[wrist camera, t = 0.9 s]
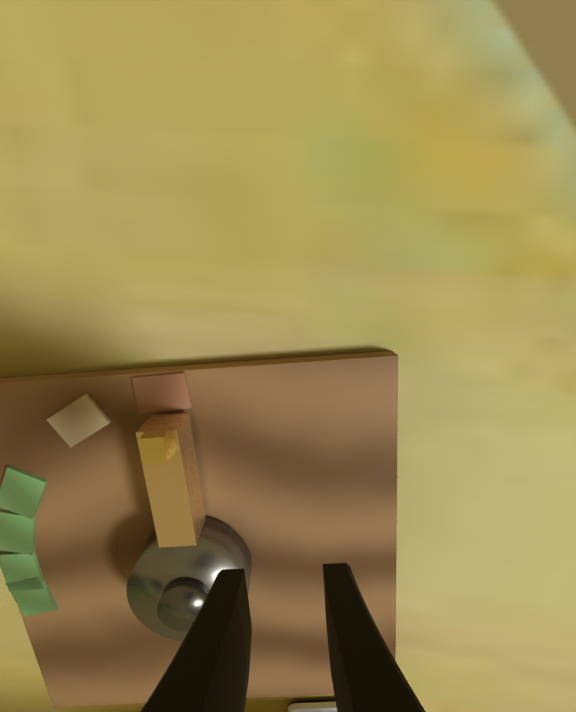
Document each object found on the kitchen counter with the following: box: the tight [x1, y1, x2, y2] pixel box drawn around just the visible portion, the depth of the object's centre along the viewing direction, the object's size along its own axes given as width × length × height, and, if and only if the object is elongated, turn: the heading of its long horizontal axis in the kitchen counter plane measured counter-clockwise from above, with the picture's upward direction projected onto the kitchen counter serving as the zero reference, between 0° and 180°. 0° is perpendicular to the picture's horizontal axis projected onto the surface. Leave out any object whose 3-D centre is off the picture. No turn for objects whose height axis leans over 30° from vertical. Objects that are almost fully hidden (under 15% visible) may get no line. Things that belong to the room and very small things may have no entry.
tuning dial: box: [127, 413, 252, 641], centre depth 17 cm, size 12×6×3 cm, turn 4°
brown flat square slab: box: [0, 351, 398, 708], centre depth 19 cm, size 22×22×1 cm
